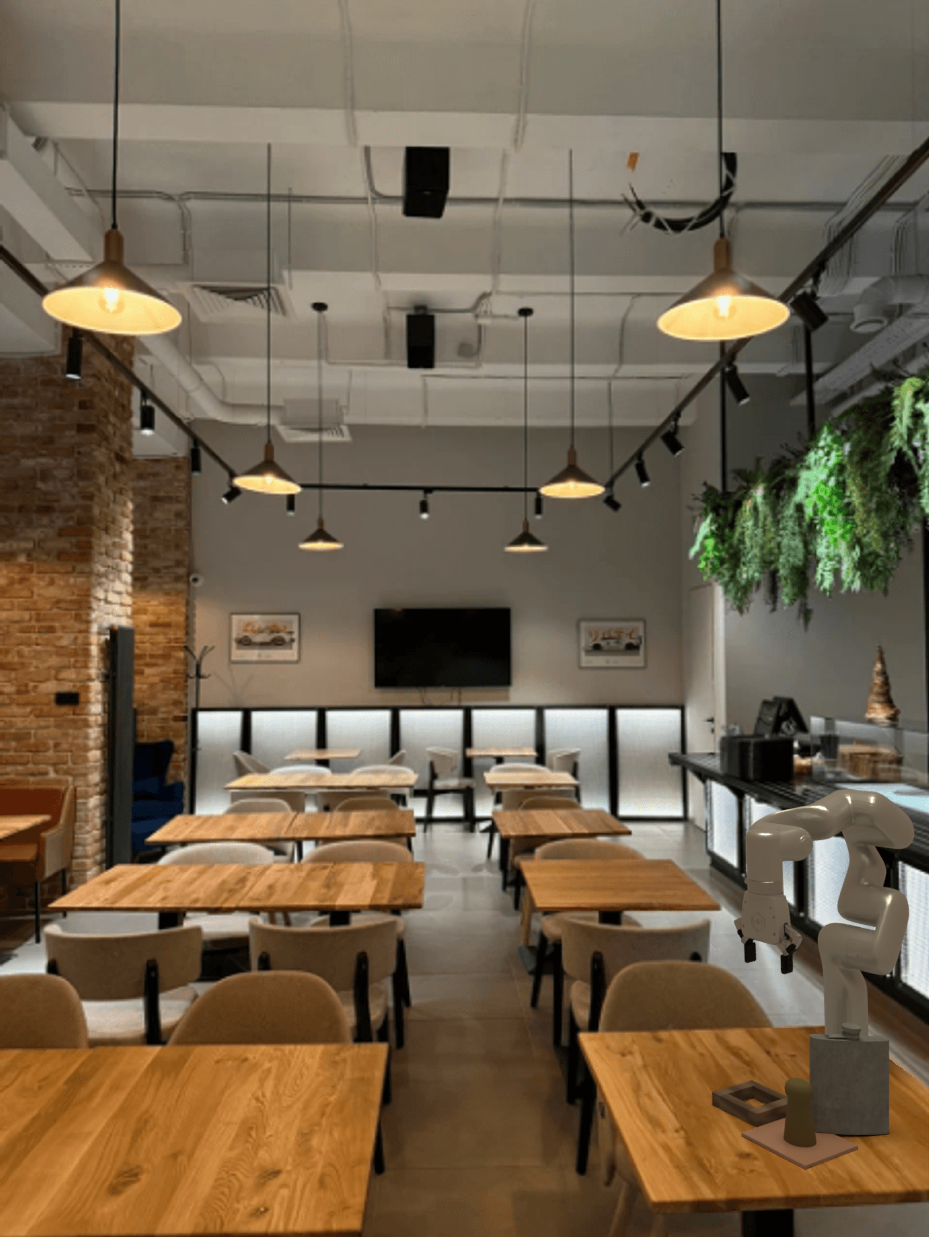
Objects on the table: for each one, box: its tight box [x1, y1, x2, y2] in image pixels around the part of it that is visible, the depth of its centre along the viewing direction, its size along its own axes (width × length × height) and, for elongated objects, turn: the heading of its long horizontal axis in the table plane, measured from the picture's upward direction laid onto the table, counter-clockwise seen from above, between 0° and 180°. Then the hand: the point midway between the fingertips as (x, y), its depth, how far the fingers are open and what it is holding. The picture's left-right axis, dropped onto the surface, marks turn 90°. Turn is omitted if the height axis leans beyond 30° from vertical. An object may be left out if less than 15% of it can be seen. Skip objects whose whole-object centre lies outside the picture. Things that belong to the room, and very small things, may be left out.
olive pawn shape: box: [783, 1077, 817, 1147], centre depth 180 cm, size 6×6×11 cm
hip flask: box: [808, 1023, 890, 1136], centre depth 185 cm, size 16×4×20 cm, turn 94°
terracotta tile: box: [741, 1118, 859, 1170], centre depth 180 cm, size 15×15×1 cm
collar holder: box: [711, 1079, 788, 1128], centre depth 195 cm, size 12×12×2 cm
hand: (768, 967), depth 203 cm, fingers open, 9 cm apart
